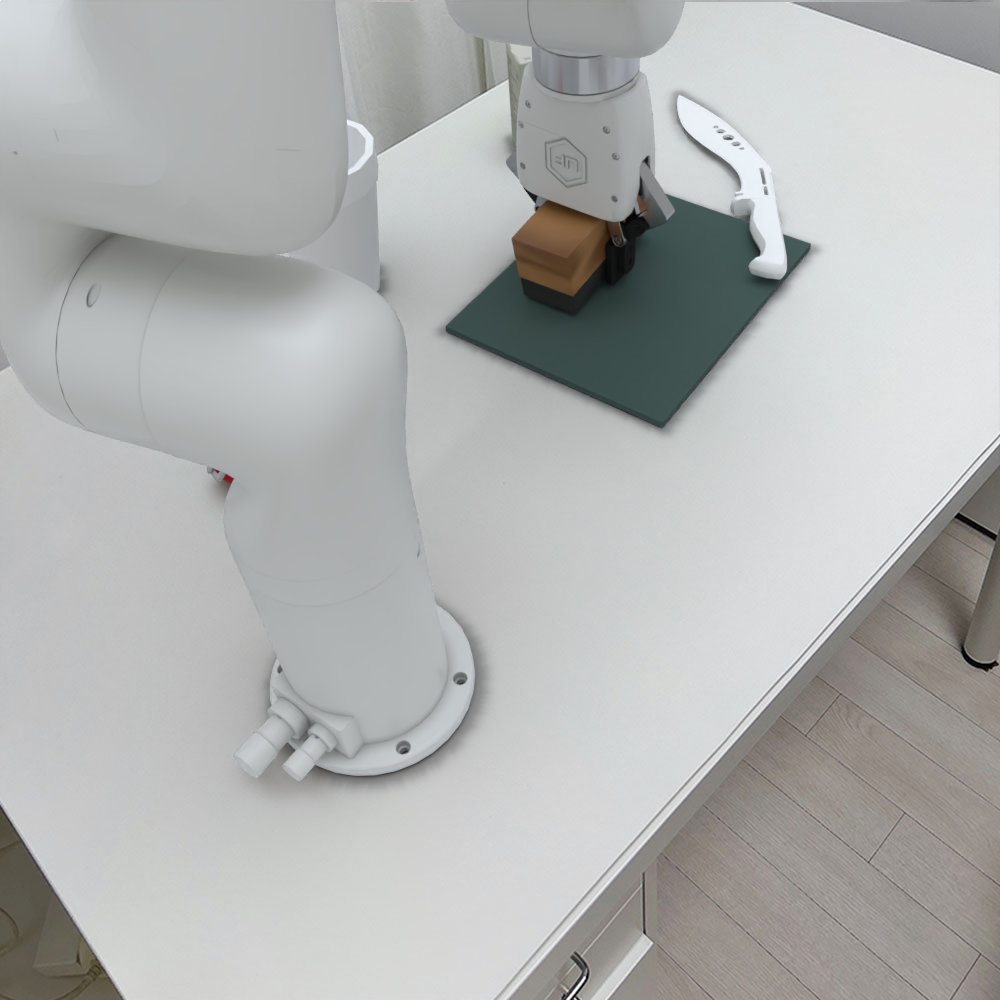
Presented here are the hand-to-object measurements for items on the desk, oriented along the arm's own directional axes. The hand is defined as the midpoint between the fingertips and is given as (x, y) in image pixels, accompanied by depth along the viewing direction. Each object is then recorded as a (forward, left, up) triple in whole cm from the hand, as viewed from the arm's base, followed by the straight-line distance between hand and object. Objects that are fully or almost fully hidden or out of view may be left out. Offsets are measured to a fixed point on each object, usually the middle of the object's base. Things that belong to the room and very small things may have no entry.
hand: (588, 261), depth 91 cm
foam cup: (-12, +17, -2) cm, 21 cm away
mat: (0, -4, -1) cm, 4 cm away
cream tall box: (+13, +14, -2) cm, 19 cm away
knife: (+17, -4, -1) cm, 17 cm away
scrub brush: (0, 0, 0) cm, 0 cm away
